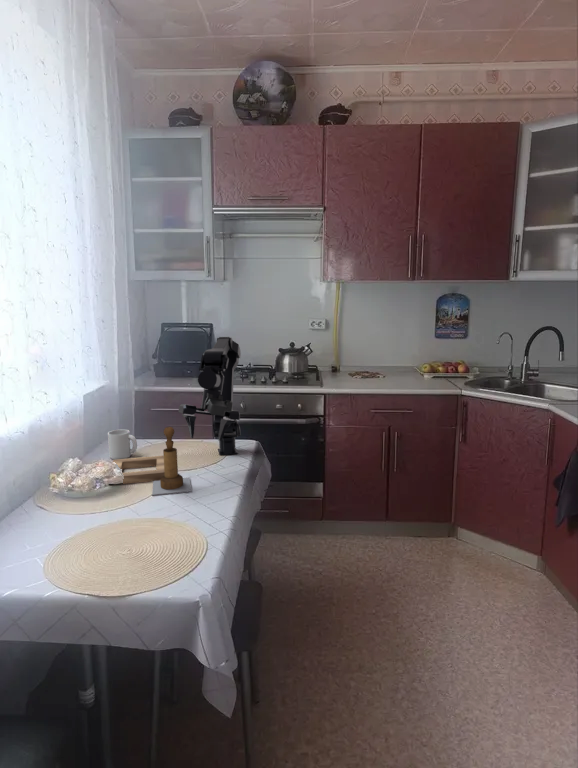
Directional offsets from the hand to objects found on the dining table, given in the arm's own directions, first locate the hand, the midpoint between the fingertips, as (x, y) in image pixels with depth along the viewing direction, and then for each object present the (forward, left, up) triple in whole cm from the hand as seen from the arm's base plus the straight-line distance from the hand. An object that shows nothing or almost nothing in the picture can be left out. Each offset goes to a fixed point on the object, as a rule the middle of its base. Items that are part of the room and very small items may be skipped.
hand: (205, 439), depth 163 cm
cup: (-25, -27, -12) cm, 39 cm away
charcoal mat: (+9, -11, -11) cm, 18 cm away
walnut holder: (-6, -21, -11) cm, 25 cm away
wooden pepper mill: (+8, -11, -11) cm, 18 cm away
